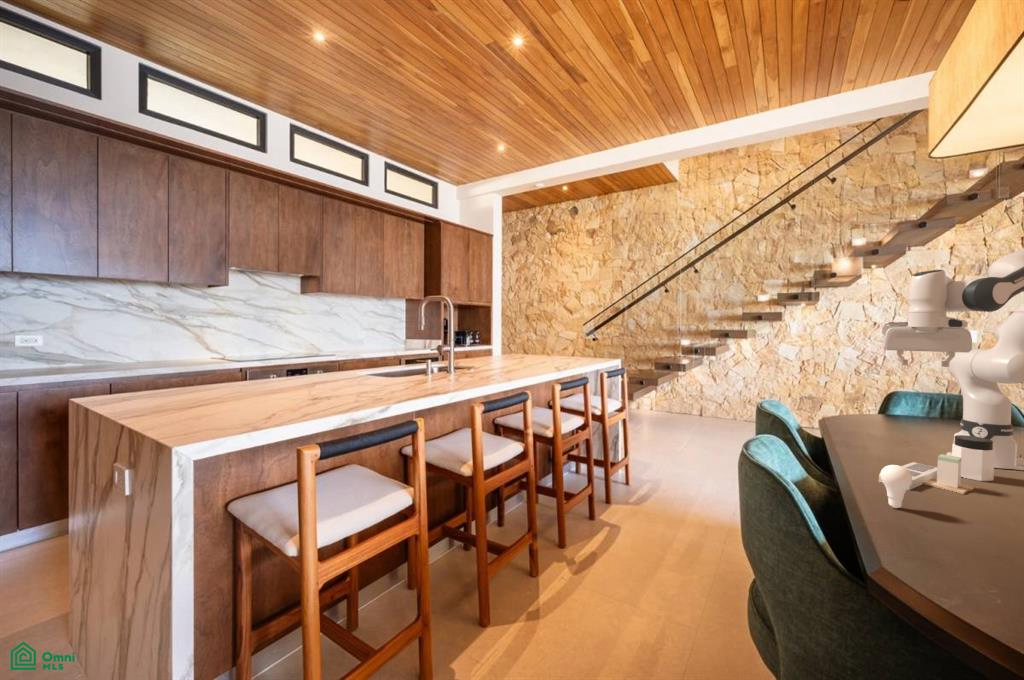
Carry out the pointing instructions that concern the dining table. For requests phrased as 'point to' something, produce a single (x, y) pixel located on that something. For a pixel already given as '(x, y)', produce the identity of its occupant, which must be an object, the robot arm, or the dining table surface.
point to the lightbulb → (895, 483)
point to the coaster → (961, 489)
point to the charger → (949, 470)
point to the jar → (975, 457)
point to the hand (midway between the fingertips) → (924, 365)
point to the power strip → (919, 473)
